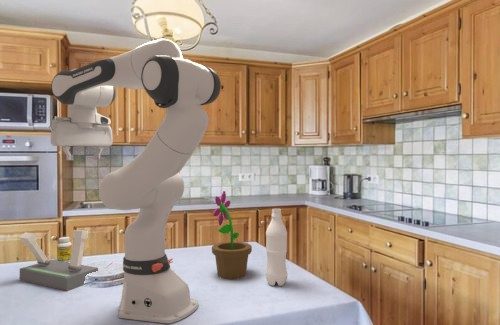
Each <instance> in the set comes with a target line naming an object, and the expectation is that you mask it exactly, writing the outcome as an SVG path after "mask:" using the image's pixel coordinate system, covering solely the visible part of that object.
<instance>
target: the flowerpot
mask: <svg viewBox="0 0 500 325" xmlns="http://www.w3.org/2000/svg"><path fill="white" fill-rule="evenodd" d="M226 198H227V194H226V191H225V190H223V191H222V193H221V196H217V195H216V196H215V198H214V199H215V201H214V202H215V204H216V206H217V208H216V209H214V211H213V213H212V215H213V217H218V220H217V221H218V226H221V227H220V228H218V230H217V231H218V233H220V234H223V235H224V234H230V235H229V236H230V241H223V242H218V243H215V244H214V245H212V246H211V253H212V254H213V255H214V257H215V264H216V271H217V276H218V277H219V278H220V277H221V279H224V280H238V279H237V278H239V279H242V278H244V276H246V275H247V271H248V270H247V268H248V261H249V255H251V253H252V251H253V249H252V245H251V244H250V243H248V242H243V241H234V240H235V239H238V237H239V235H240V233H239V232H234V228H233V221H232V218H231V215H230V214H229V210H228V208H229V207H230V206H231V200H228V199H227V200H226ZM218 207H219V208H218ZM224 219H225V220H228V224H227V223H226V224H224V225H223V226H222V224H223V222H224ZM241 277H242V278H241Z"/></svg>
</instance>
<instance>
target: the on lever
mask: <svg viewBox="0 0 500 325" xmlns="http://www.w3.org/2000/svg"><path fill="white" fill-rule="evenodd" d="M18 239H19V240H20V242H22V244H25V245H26V247H27V248H28V249H29V251H30V252H31V254H32V255H33V257H34V258H35V260H36V261H37V263H36V264H38V263H39V264H44V265H49V264H50V260H51V259H49V258H47V256H46V254H45V253H44V251H43V249H42V248H41V246H40V245H39V244H38V242H37V240H38V237H36V235H35V234H34V233H33V232H26V231H25V232H24V233H23V234H21V235H20V236H19V237H18Z"/></svg>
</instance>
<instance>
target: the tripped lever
mask: <svg viewBox="0 0 500 325" xmlns="http://www.w3.org/2000/svg"><path fill="white" fill-rule="evenodd" d="M89 232H90V231H89V230H83V229H73V230H72V236H71V238H72V239H73V242H72V253H71V259H70V262H69V263H70V264H69V266H68V269H70V270H76V271H80V270H81V269H82V266H81V265H82V263H83V256H84V249H85V245H86V244H85V243H86V240H88V237H89Z"/></svg>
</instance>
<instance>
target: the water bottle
mask: <svg viewBox="0 0 500 325" xmlns="http://www.w3.org/2000/svg"><path fill="white" fill-rule="evenodd" d="M282 217H283V215H282V209H281V208H271V220H270V223H269V224H268V226H267V228H266V231H265V237H266V238H265V239H266V241H265V242H266V243H265V245H266V246H265V250H266V256H267V267H266V271H265V277H266V278H265V279H266V281H267V282H268V284H269V285H270V286H272V287H273V286H275V285H276V283H277V285H278V287H281V286H284V285H285V284H286V282H287V280H288V271H287V265H286V264H287V263H286V262H287V261H286V260H287V258H286V257H287V252H288V231H287V228H286V226H285V223H284V222H283V220H282Z"/></svg>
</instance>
